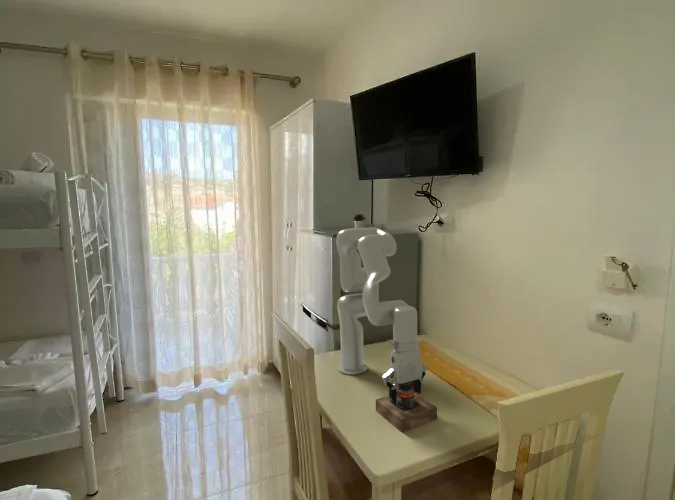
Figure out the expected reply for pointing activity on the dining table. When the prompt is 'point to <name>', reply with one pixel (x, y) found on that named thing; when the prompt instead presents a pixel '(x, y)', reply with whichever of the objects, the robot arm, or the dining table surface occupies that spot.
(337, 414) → the dining table surface
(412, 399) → the supplement bottle
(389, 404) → the socket block
